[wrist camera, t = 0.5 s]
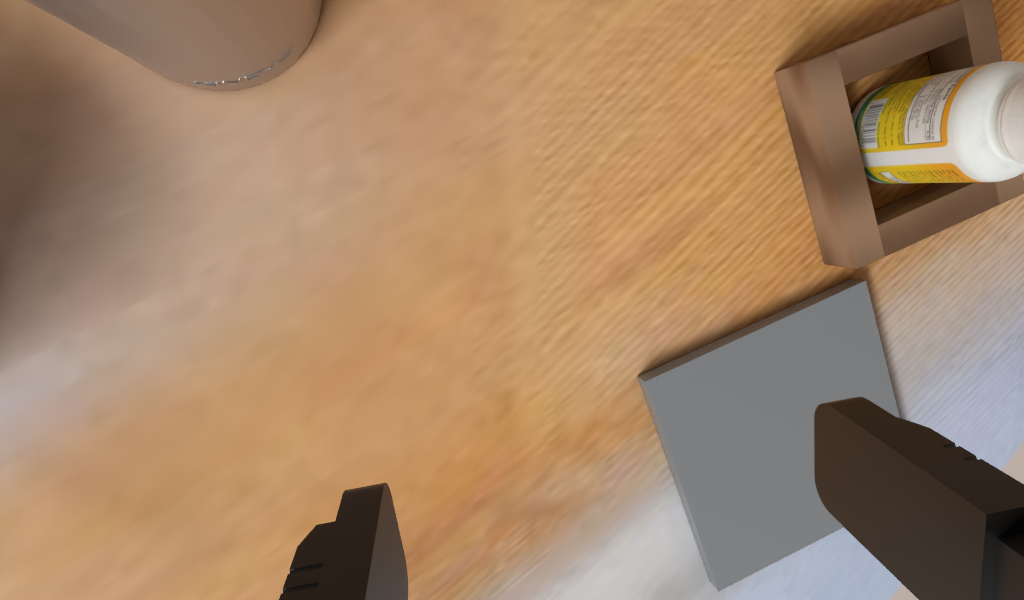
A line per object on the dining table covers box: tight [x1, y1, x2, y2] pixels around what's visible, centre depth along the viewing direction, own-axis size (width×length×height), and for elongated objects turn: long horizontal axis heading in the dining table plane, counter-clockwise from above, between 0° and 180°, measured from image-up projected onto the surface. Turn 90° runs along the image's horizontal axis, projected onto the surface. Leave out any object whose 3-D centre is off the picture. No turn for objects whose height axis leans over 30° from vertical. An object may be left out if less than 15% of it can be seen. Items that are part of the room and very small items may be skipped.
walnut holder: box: [774, 0, 1024, 269], centre depth 33 cm, size 11×11×2 cm
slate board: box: [638, 278, 900, 591], centre depth 36 cm, size 14×14×1 cm
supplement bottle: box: [852, 61, 1024, 183], centre depth 30 cm, size 5×5×10 cm
